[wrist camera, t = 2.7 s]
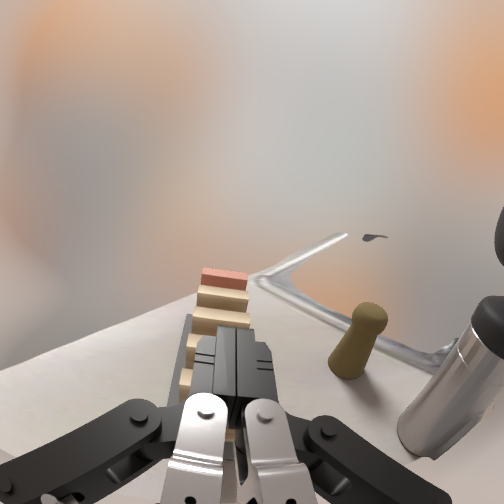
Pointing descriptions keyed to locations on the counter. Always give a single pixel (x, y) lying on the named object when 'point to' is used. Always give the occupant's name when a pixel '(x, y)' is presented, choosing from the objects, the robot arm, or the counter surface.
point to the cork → (358, 341)
